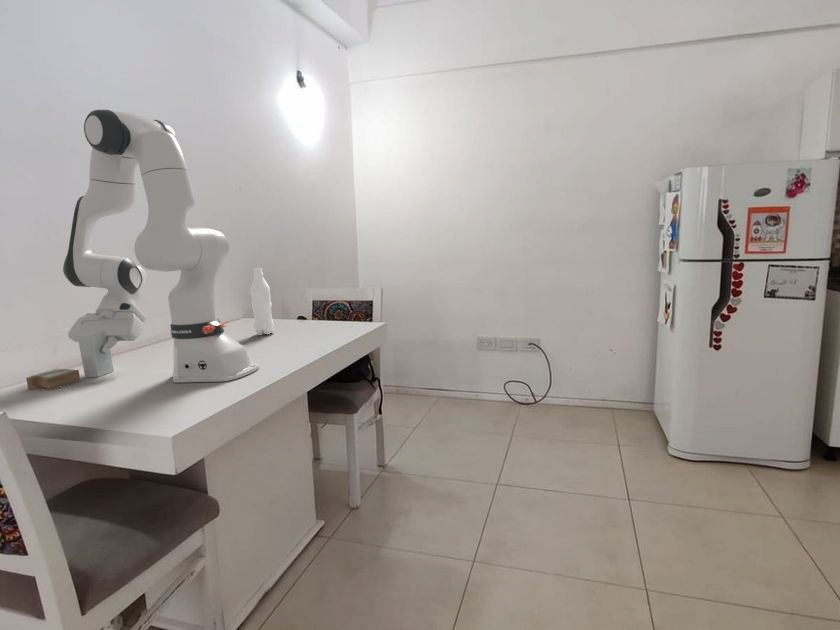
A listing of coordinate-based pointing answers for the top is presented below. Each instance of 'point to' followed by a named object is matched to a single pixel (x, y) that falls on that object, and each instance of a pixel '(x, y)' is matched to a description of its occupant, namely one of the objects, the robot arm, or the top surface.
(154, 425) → the top surface
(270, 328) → the water bottle
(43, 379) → the walnut block
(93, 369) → the skincare box
